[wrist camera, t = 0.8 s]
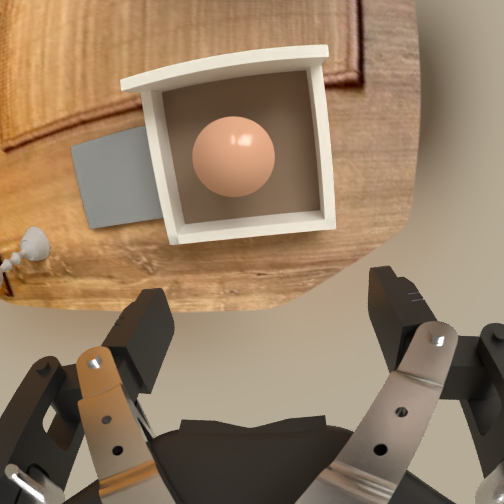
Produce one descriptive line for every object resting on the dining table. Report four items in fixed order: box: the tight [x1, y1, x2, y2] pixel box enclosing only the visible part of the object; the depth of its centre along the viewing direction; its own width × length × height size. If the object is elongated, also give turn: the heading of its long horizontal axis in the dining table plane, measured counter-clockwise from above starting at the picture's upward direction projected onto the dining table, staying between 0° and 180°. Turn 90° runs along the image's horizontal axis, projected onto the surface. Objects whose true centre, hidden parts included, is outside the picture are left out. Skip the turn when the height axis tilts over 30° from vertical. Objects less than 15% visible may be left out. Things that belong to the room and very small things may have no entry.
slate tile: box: [71, 125, 164, 229], centre depth 32 cm, size 10×10×1 cm
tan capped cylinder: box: [192, 117, 275, 197], centre depth 26 cm, size 6×6×7 cm
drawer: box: [120, 45, 336, 245], centre depth 27 cm, size 16×16×8 cm
